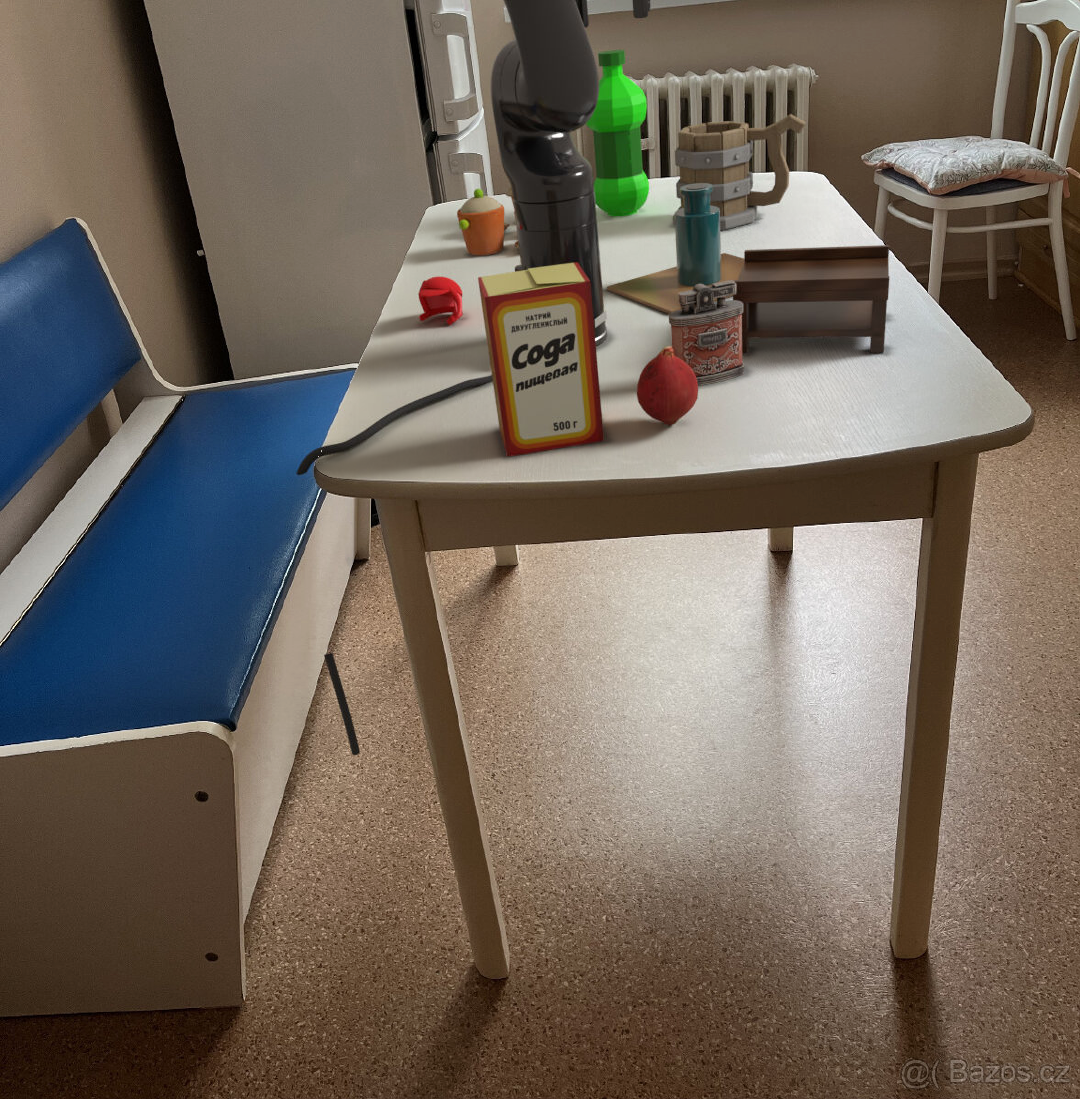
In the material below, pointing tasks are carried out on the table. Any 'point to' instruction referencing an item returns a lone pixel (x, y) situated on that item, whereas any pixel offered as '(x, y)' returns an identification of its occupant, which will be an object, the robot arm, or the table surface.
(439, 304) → the red toy helmet
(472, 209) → the toy tea set
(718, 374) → the lighter
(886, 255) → the rack
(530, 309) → the baking soda box
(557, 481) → the table surface
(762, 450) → the table surface
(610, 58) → the plastic bottle
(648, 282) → the placemat
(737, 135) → the tankard
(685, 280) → the vase
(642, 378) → the onion
